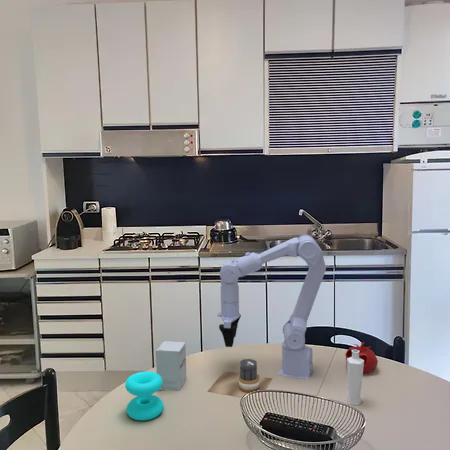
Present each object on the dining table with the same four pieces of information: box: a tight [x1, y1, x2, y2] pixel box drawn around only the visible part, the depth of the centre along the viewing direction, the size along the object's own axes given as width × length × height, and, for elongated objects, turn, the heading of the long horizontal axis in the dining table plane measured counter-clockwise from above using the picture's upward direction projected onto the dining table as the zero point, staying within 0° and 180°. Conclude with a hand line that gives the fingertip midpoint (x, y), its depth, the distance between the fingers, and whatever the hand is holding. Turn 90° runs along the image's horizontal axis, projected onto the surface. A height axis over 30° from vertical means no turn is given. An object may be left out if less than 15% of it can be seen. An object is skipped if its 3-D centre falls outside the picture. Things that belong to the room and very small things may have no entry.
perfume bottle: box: [346, 349, 364, 406], centre depth 130 cm, size 5×4×15 cm
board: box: [207, 370, 273, 399], centre depth 140 cm, size 16×14×1 cm
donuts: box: [124, 371, 164, 421], centre depth 127 cm, size 10×10×10 cm
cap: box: [239, 358, 258, 381], centre depth 138 cm, size 5×5×5 cm
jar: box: [239, 373, 260, 393], centre depth 138 cm, size 6×6×5 cm
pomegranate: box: [344, 341, 379, 375], centre depth 149 cm, size 10×10×9 cm
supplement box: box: [155, 340, 187, 391], centre depth 141 cm, size 7×7×13 cm
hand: (230, 341), depth 148 cm, fingers open, 7 cm apart
